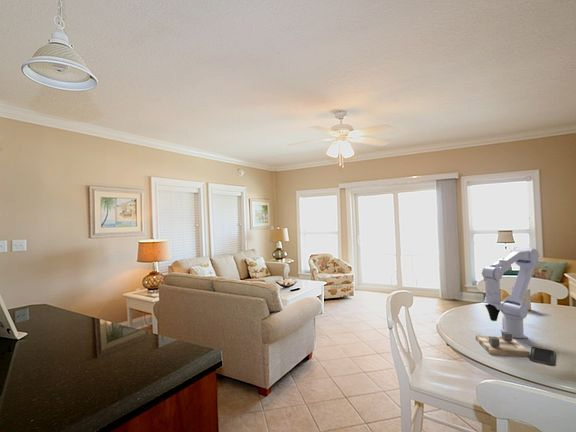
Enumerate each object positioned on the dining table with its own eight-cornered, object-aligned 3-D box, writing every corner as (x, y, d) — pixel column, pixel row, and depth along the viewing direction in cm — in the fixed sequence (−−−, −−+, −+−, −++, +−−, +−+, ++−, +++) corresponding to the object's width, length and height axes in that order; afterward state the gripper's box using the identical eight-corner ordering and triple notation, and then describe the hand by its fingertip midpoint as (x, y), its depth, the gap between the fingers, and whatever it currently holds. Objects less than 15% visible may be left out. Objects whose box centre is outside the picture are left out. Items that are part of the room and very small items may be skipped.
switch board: (475, 339, 147) (475, 335, 147) (511, 341, 143) (510, 336, 143) (489, 353, 131) (489, 349, 131) (529, 356, 128) (529, 351, 128)
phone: (529, 358, 124) (531, 346, 136) (529, 361, 124) (531, 348, 136) (554, 364, 119) (555, 351, 130) (554, 367, 119) (555, 353, 130)
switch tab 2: (501, 337, 142) (501, 331, 142) (509, 338, 141) (508, 331, 141) (504, 340, 139) (504, 333, 139) (512, 340, 138) (512, 334, 138)
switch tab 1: (489, 343, 136) (488, 336, 136) (496, 343, 136) (496, 336, 136) (491, 345, 134) (491, 339, 134) (499, 346, 133) (499, 339, 133)
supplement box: (531, 309, 188) (530, 288, 188) (527, 310, 186) (527, 289, 186) (516, 306, 195) (515, 285, 195) (512, 307, 193) (511, 287, 193)
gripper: (477, 288, 153) (478, 315, 153) (489, 295, 139) (490, 325, 139) (493, 288, 151) (494, 315, 151) (507, 296, 137) (508, 326, 137)
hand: (493, 320), depth 145 cm, fingers closed
